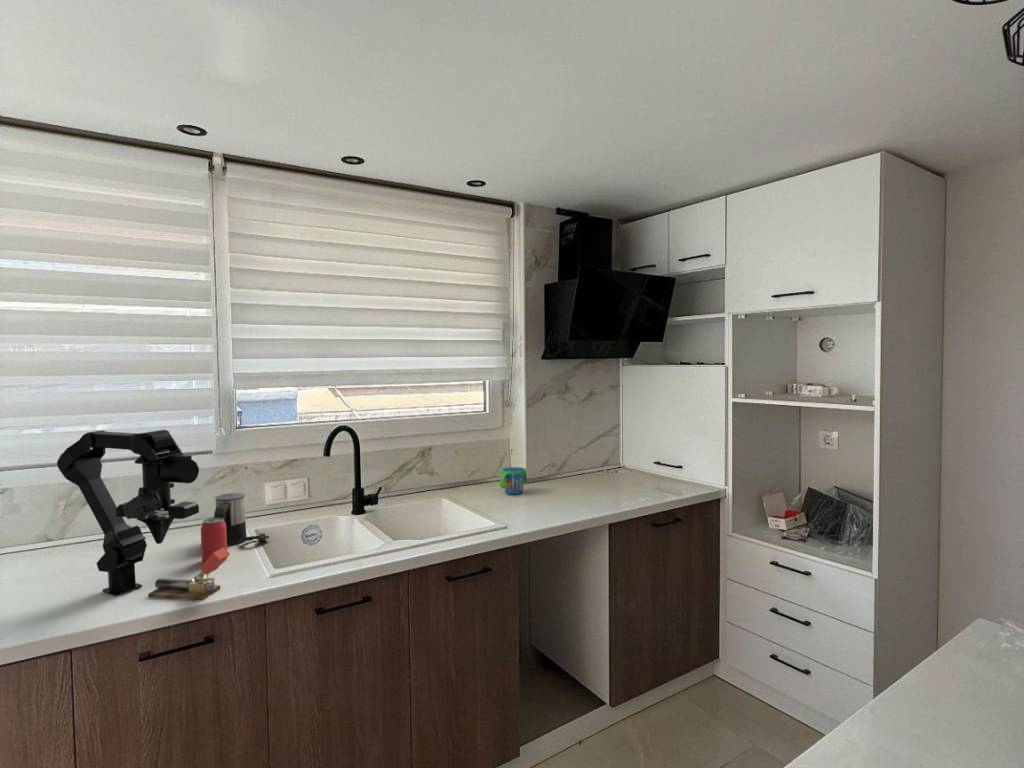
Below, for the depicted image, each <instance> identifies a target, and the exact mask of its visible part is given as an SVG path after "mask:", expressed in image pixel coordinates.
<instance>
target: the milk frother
mask: <svg viewBox="0 0 1024 768" xmlns="http://www.w3.org/2000/svg"><path fill="white" fill-rule="evenodd" d="M246 496H247V494H245V493H243V492H235V493H234V492H231V493H223V494H220V495H216V496H215V497H214V500H215V509H214V512H213V513H214V514H213V518H217V517H219V518H223V519H224V522H225V524H226V535H227V546H231V545H232V546H233V545H237V544H241V543H244V542H247V541H248V542H249V541H254V540H253V539H258V540H257V541H258V542H259V543H264V542H266V539H270V536H269V535H266V534H265V533H259V534H258V535H253V536H247V523H246V522H247V521H246V518H247V517H246Z"/></svg>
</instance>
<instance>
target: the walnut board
mask: <svg viewBox="0 0 1024 768" xmlns="http://www.w3.org/2000/svg"><path fill="white" fill-rule="evenodd" d="M214 587H215V588H213V589H212V591H208V592H206V593H205V594H193V593H189V591H188V590H179V589H161V588H156V589H155V590H153V591H151V592H148V593H147V595H148V596H147V597H148V599H163V598H165V600H179V599H188V600H187V601H196V600H202V601H204V600H205V599H207V598H208V596H209V595H210V596H211V594H212V595H214V592H215V593H216V592H218V591H220V590H221V584H220V585H219V584H214ZM219 589H220V590H219ZM217 590H218V591H217ZM210 596H209V597H210ZM206 597H207V598H206ZM203 599H204V600H203Z"/></svg>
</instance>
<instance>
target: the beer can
mask: <svg viewBox="0 0 1024 768" xmlns="http://www.w3.org/2000/svg"><path fill="white" fill-rule="evenodd" d="M200 542H201V543H200V544H201V562H202V563H203V564H204V563H205V561H206V560H207V559H208V558H209V557H210V556H211V555H212V553H214V552H215V551H217V550H219V549H221V548H223V547H224V548H225V549H226V550H227V551H228V545H227V535H226V524H225V522H224V519H223V518H219V517H217V518H214V517H210V518H206V519H203V520H202V525H201V527H200ZM227 558H228V557H227ZM227 558H226V559H225V560H227Z"/></svg>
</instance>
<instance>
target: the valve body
mask: <svg viewBox="0 0 1024 768" xmlns="http://www.w3.org/2000/svg"><path fill="white" fill-rule="evenodd" d="M214 585H215V578H214V577H206V578H205V579H203V580H201V581H199V582H195V581H194V578H191V579H179V578H164V577H163V578H162V577H160V578H158V579H156V581H155V583H154V586H155V588H156V589H158V588H161V589H179V590H188V591H189V593H193V594H205V593H206V592H208V591H212V589H213V588H215V587H214Z"/></svg>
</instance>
